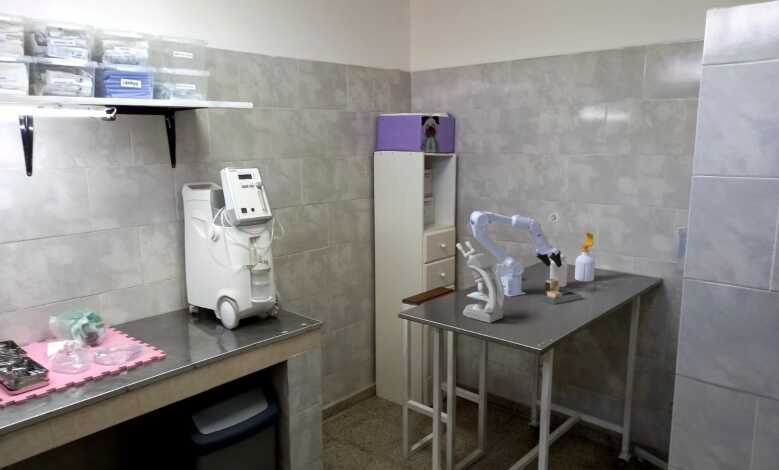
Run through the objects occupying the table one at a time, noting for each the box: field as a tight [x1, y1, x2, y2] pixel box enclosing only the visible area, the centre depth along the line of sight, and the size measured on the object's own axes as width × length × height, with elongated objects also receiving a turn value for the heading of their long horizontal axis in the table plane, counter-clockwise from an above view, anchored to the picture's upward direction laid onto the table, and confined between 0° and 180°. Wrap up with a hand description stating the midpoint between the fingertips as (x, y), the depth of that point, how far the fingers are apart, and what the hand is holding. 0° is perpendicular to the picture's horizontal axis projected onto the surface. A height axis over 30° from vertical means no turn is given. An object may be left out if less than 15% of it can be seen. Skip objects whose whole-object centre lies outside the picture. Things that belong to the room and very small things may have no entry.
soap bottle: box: [574, 231, 596, 283], centre depth 278 cm, size 9×9×25 cm
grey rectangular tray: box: [542, 290, 583, 305], centre depth 247 cm, size 16×7×2 cm, turn 116°
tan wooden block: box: [544, 278, 560, 294], centre depth 258 cm, size 5×4×6 cm, turn 116°
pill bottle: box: [549, 254, 568, 288], centre depth 269 cm, size 8×8×15 cm
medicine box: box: [495, 263, 507, 279], centre depth 280 cm, size 8×4×9 cm, turn 84°
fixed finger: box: [546, 291, 562, 299], centre depth 245 cm, size 4×5×3 cm
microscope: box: [455, 240, 505, 324], centre depth 225 cm, size 11×19×30 cm, turn 45°
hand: (554, 265), depth 260 cm, fingers open, 7 cm apart
